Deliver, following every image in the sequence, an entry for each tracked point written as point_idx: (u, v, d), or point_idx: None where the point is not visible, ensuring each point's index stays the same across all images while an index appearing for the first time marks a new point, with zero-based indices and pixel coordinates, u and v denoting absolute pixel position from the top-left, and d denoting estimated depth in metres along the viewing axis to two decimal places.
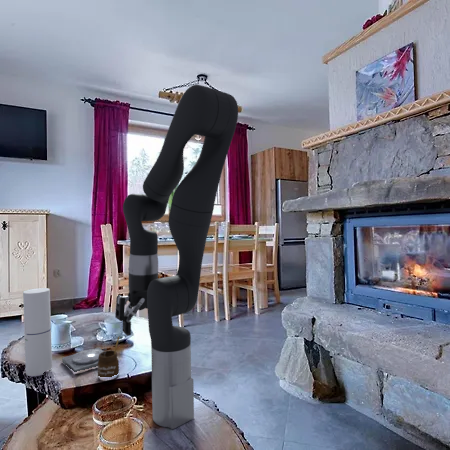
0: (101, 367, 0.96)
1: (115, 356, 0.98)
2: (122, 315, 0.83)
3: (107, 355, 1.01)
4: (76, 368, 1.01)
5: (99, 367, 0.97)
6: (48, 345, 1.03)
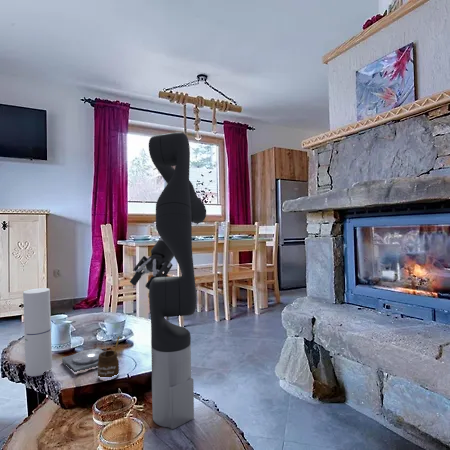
0: (101, 367, 0.96)
1: (115, 356, 0.98)
2: (136, 266, 1.13)
3: (107, 355, 1.01)
4: (76, 368, 1.01)
5: (99, 367, 0.97)
6: (48, 345, 1.03)
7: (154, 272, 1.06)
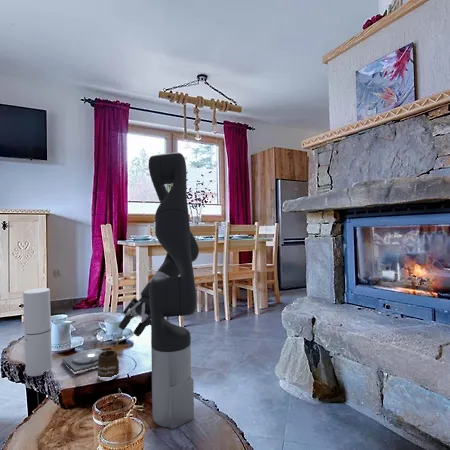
0: (101, 367, 0.96)
1: (115, 356, 0.98)
2: (126, 309, 1.10)
3: (107, 355, 1.01)
4: (76, 368, 1.01)
5: (99, 367, 0.97)
6: (48, 345, 1.03)
7: (143, 318, 1.03)
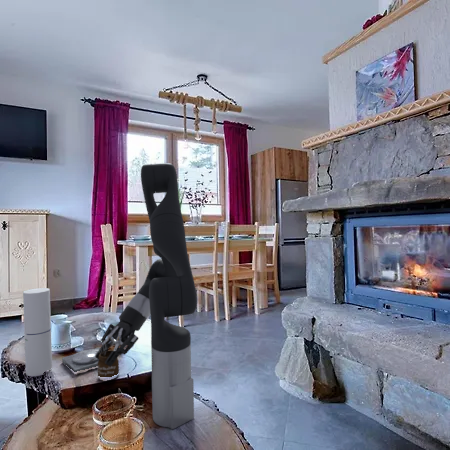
0: (101, 367, 0.96)
1: None
2: (103, 337, 1.03)
3: (107, 355, 1.01)
4: (76, 368, 1.01)
5: (99, 367, 0.97)
6: (48, 345, 1.03)
7: (115, 346, 0.98)
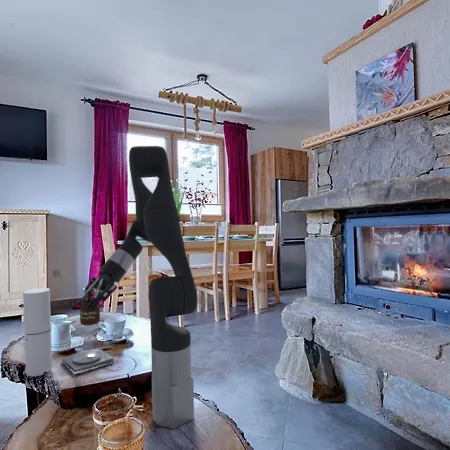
0: (83, 312, 1.05)
1: None
2: (86, 287, 1.12)
3: None
4: (76, 368, 1.01)
5: (81, 312, 1.05)
6: (48, 345, 1.03)
7: (96, 293, 1.06)
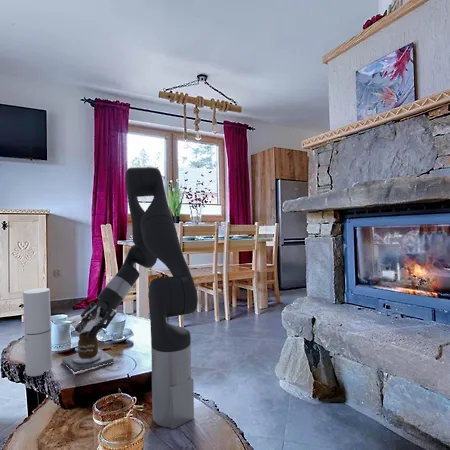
0: (81, 345, 1.06)
1: None
2: (83, 312, 1.14)
3: None
4: (76, 368, 1.01)
5: (79, 345, 1.06)
6: (48, 345, 1.03)
7: (96, 321, 1.07)
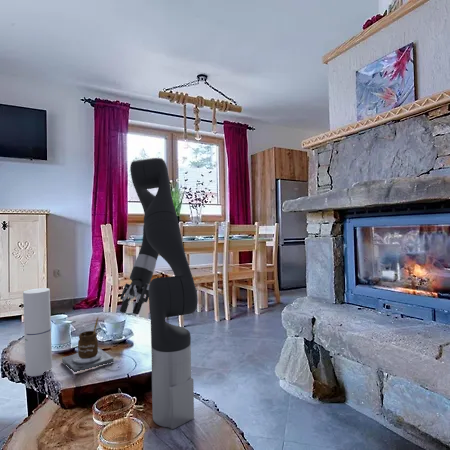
0: (81, 345, 1.06)
1: (94, 336, 1.08)
2: (122, 295, 1.22)
3: (87, 335, 1.10)
4: (76, 368, 1.01)
5: (79, 345, 1.06)
6: (48, 345, 1.03)
7: (137, 298, 1.15)
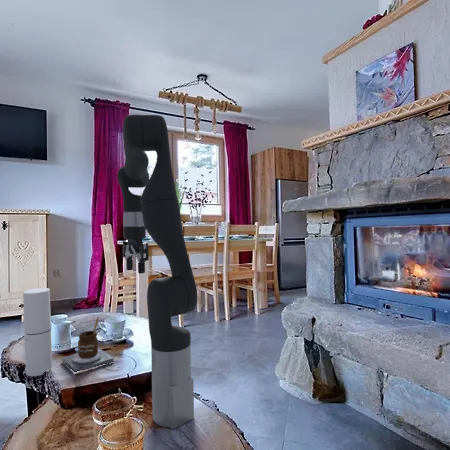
0: (81, 345, 1.06)
1: (94, 336, 1.08)
2: (123, 253, 1.20)
3: (87, 335, 1.10)
4: (76, 368, 1.01)
5: (79, 345, 1.06)
6: (48, 345, 1.03)
7: (137, 258, 1.12)
